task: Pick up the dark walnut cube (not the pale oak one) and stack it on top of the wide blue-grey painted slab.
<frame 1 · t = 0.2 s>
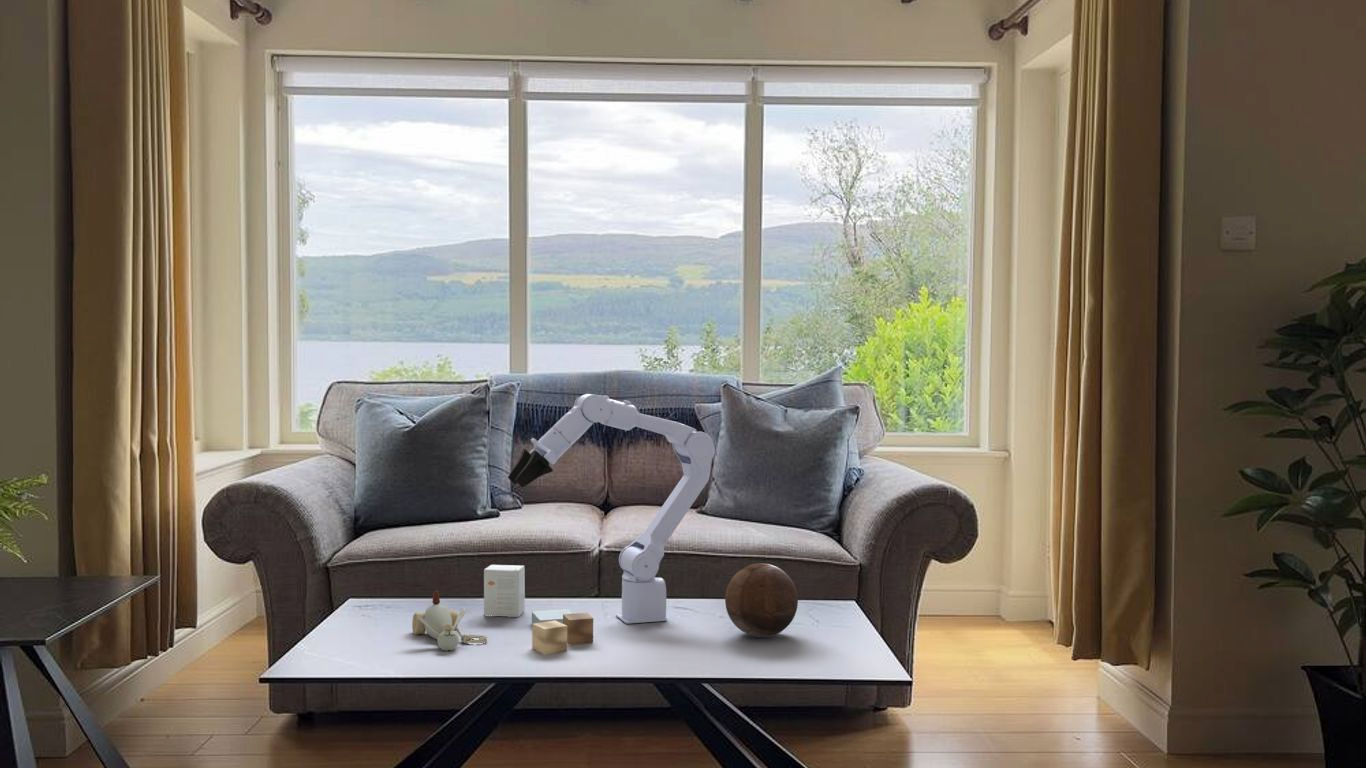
hand: (514, 482, 221), 31 cm above the table, tool tilted 45°, fingers open, 7 cm apart
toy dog: (442, 641, 213), on the table
wooden sphere: (760, 636, 219), on the table
slab: (554, 628, 224), on the table
small box: (504, 615, 235), on the table
walnut cube: (577, 640, 214), on the table
oak cube: (549, 650, 207), on the table
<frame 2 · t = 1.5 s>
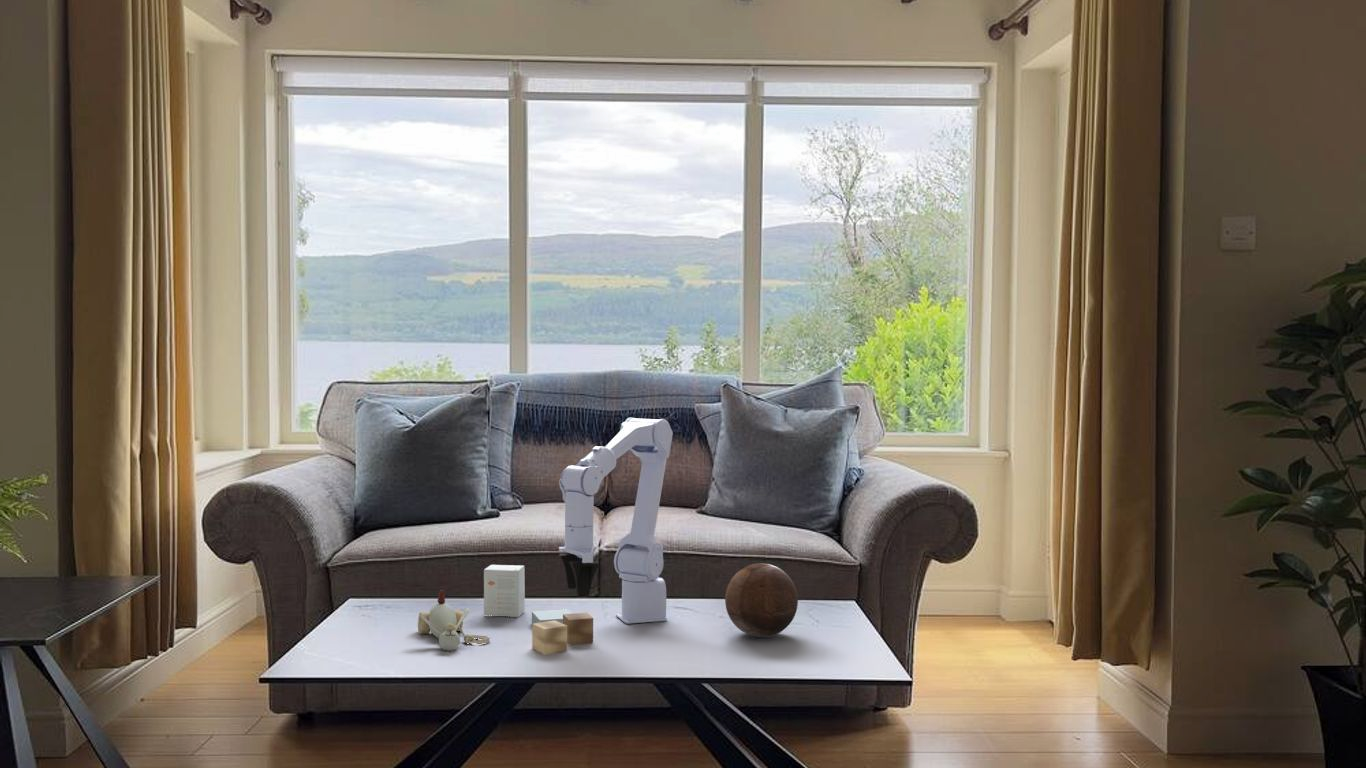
hand: (578, 592, 214), 10 cm above the table, tool pointing down, fingers open, 7 cm apart
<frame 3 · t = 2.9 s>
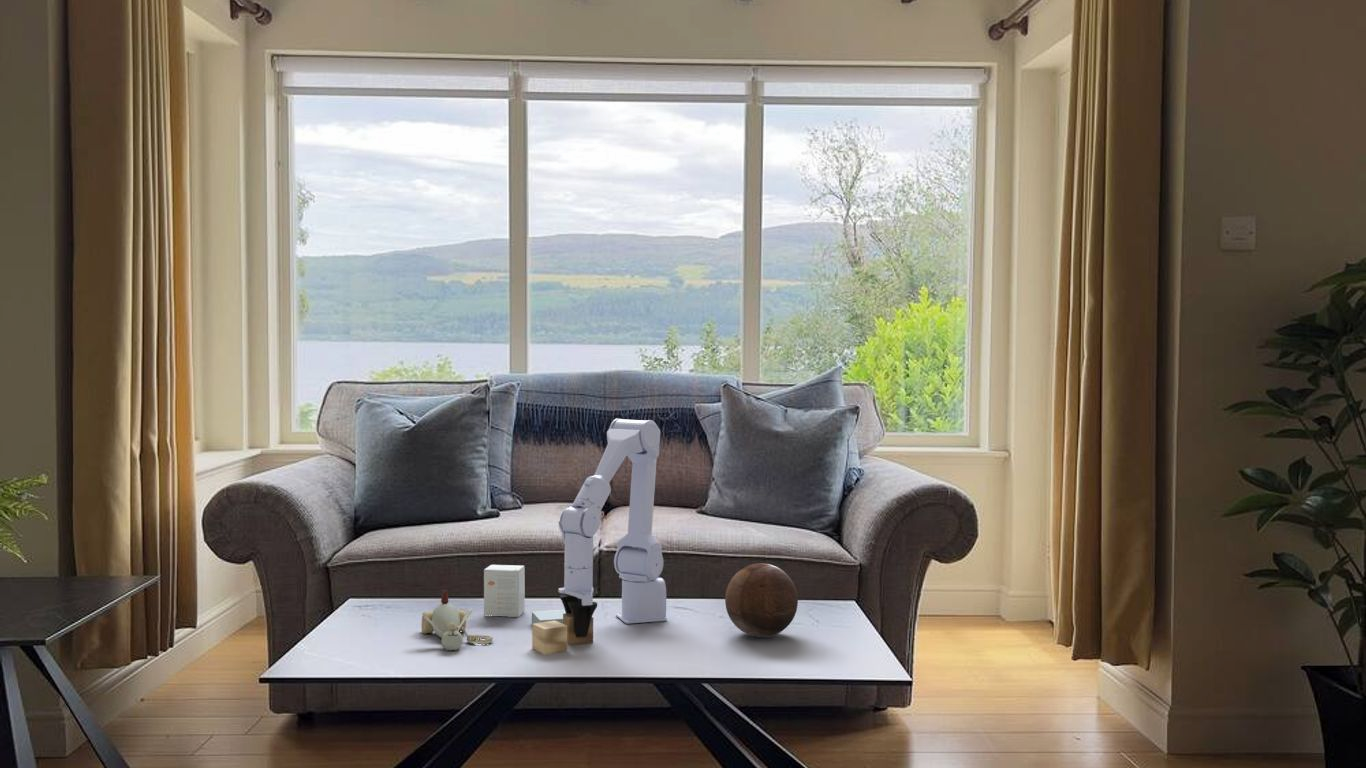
hand: (577, 633, 214), 1 cm above the table, tool pointing down, fingers closed on walnut cube, 5 cm apart
walnut cube: (577, 640, 214), on the table, touching gripper
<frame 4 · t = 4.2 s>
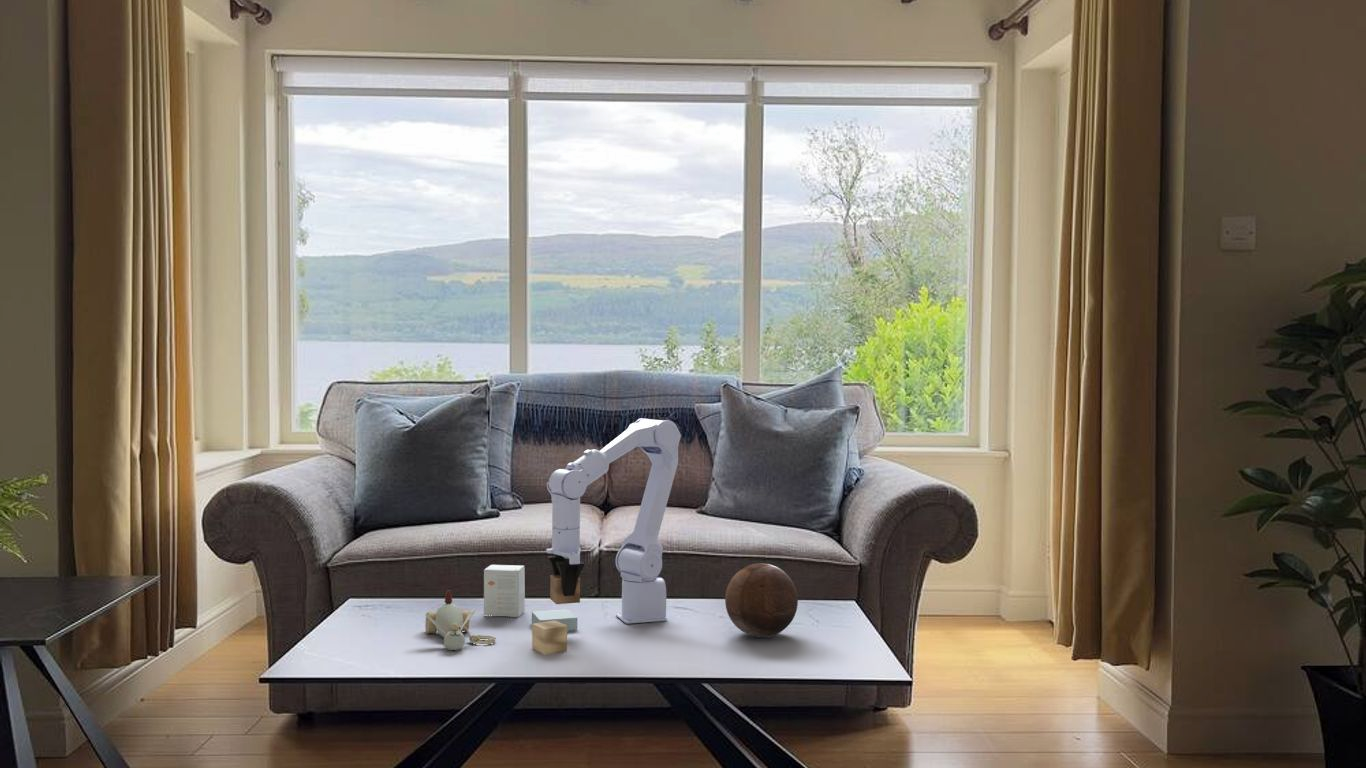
hand: (565, 592, 219), 8 cm above the table, tool pointing down, fingers closed on walnut cube, 5 cm apart
walnut cube: (565, 600, 219), point 7 cm above the table, touching gripper
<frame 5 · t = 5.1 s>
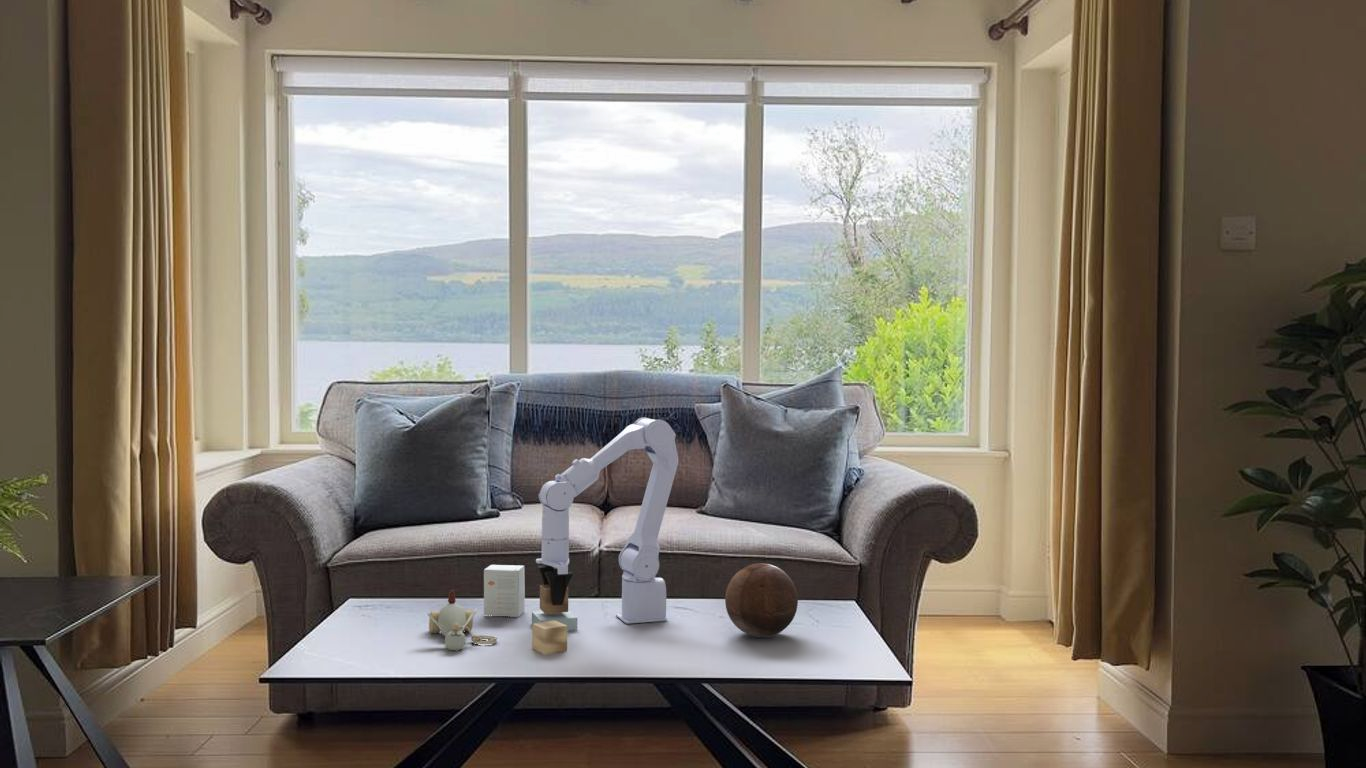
hand: (554, 601, 224), 5 cm above the table, tool pointing down, fingers closed on walnut cube, 5 cm apart
walnut cube: (553, 610, 224), point 4 cm above the table, touching gripper
when the fingers open (5 cm above the table, at t = 5.6 s): walnut cube stays where it is, resting on slab.
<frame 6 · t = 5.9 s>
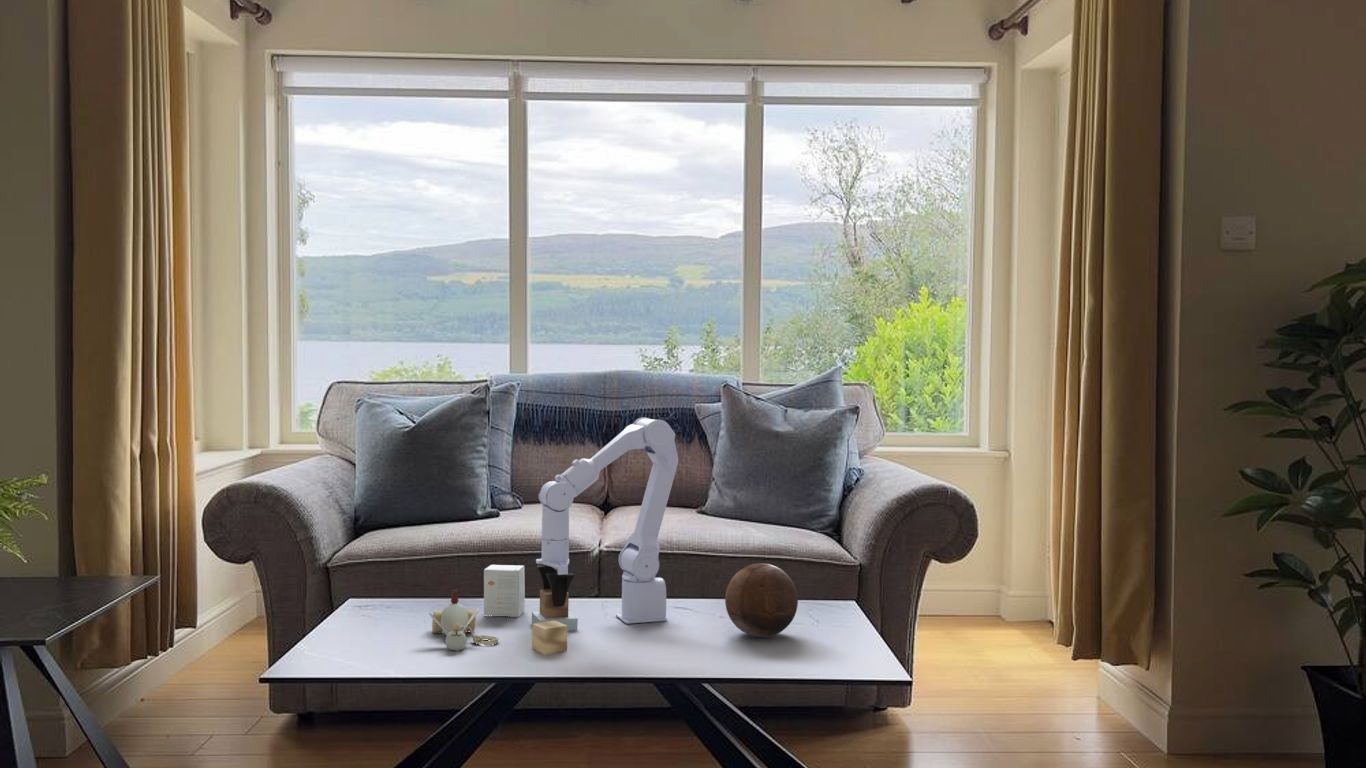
hand: (554, 602, 224), 5 cm above the table, tool pointing down, fingers open, 7 cm apart
slab: (554, 629, 224), on the table, touching walnut cube
walnut cube: (553, 614, 224), point 2 cm above the table, touching slab
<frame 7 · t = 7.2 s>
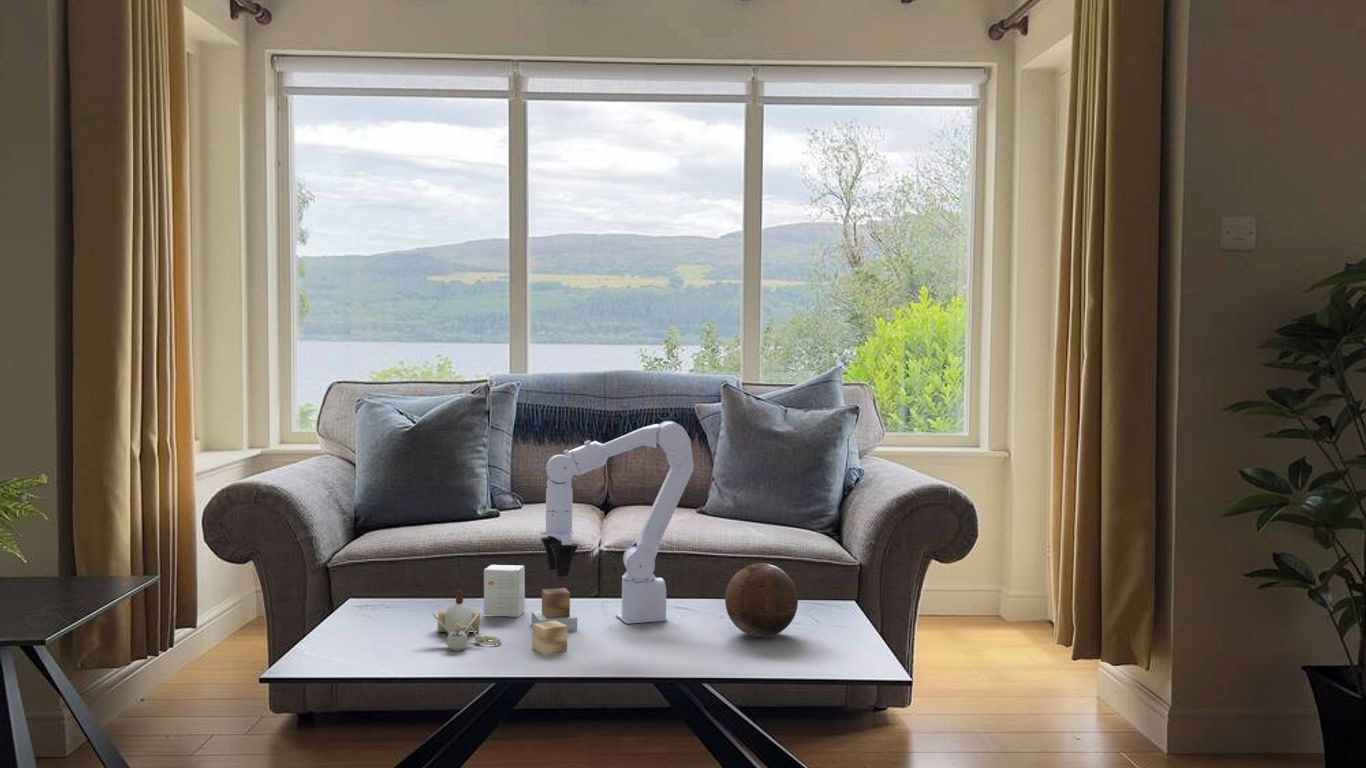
hand: (558, 572, 230), 10 cm above the table, tool pointing down, fingers open, 7 cm apart
slab: (554, 628, 224), on the table
walnut cube: (555, 614, 224), point 3 cm above the table
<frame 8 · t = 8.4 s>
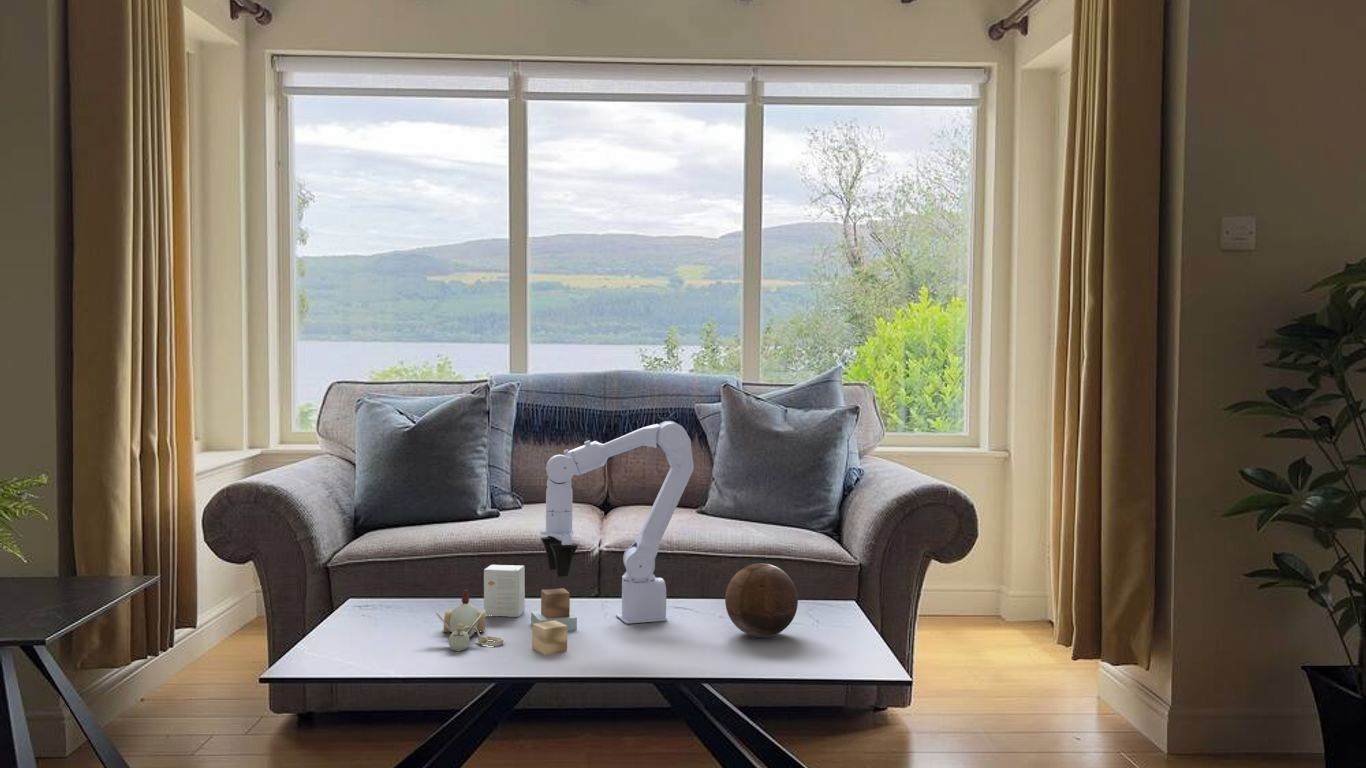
hand: (558, 572, 230), 10 cm above the table, tool pointing down, fingers open, 7 cm apart
at the end: walnut cube 0.3 cm off-centre on the slab, point 3.0 cm above the slab's base; walnut cube tilted 1°; the gripper is holding nothing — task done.
